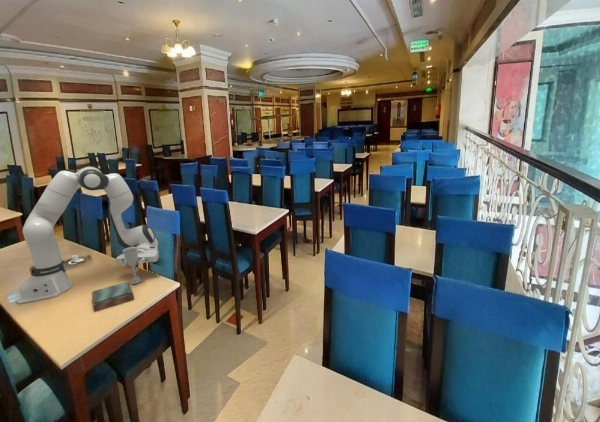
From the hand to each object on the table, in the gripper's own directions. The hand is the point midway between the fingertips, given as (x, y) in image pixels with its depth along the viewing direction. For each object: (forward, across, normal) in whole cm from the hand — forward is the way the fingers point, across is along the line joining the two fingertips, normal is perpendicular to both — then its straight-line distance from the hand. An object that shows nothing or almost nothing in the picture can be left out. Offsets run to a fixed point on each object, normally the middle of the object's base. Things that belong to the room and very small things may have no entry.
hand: (132, 264), depth 163 cm
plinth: (+15, -5, +11) cm, 19 cm away
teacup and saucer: (-33, -50, +12) cm, 61 cm away
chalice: (-1, 0, +10) cm, 11 cm away
